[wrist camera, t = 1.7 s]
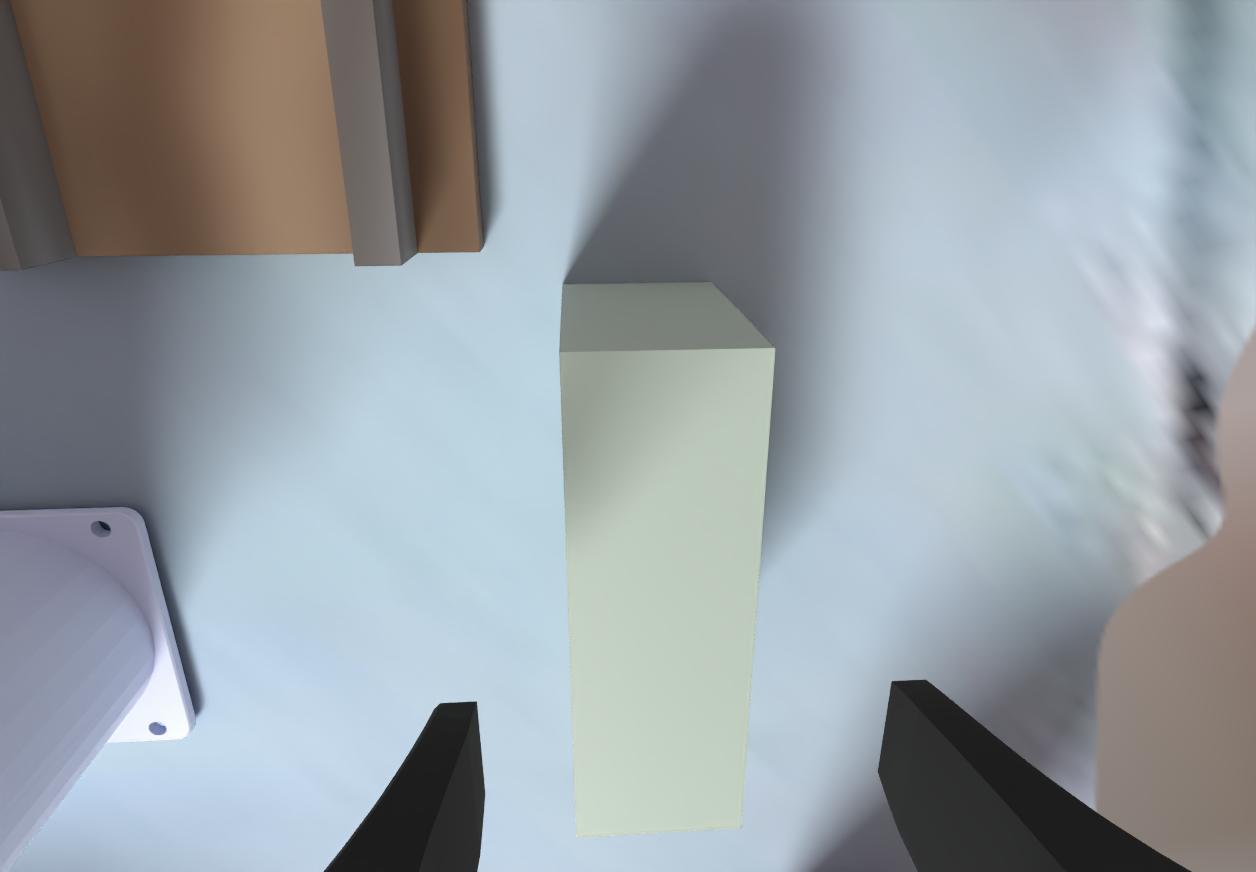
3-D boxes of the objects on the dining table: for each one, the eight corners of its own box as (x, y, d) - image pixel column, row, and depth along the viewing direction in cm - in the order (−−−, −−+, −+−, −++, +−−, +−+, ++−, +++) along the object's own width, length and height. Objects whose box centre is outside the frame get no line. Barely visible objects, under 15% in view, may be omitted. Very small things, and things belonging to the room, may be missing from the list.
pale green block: (574, 654, 25) (576, 837, 18) (562, 283, 20) (559, 352, 14) (696, 648, 25) (741, 827, 19) (710, 281, 21) (775, 348, 14)
